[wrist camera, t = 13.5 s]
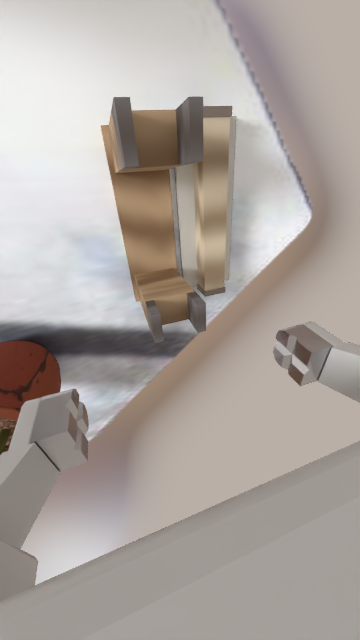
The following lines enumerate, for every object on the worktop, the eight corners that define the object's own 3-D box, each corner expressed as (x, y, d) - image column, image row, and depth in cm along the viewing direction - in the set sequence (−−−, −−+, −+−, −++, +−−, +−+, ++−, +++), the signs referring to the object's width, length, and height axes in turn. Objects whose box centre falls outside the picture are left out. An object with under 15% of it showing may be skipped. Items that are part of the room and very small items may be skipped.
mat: (171, 119, 26) (172, 117, 25) (233, 117, 27) (236, 116, 27) (183, 287, 37) (184, 288, 37) (227, 278, 39) (228, 279, 38)
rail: (190, 114, 26) (202, 106, 23) (218, 114, 26) (232, 105, 24) (197, 288, 37) (205, 296, 34) (215, 284, 38) (225, 292, 35)
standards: (100, 127, 24) (102, 81, 14) (163, 124, 26) (209, 82, 15) (135, 299, 36) (151, 349, 25) (177, 290, 37) (210, 334, 26)
